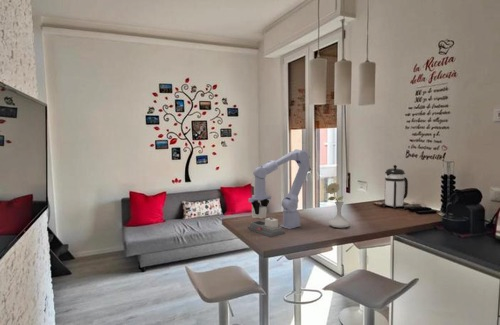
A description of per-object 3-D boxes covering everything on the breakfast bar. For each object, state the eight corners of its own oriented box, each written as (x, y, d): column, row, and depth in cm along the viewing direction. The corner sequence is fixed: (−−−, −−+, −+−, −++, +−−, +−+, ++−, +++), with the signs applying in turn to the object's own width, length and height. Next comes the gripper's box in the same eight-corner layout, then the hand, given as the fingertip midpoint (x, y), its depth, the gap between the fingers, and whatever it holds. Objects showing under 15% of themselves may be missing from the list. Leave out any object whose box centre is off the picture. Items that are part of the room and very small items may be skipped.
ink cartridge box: (267, 216, 206) (266, 194, 204) (264, 218, 201) (264, 195, 200) (254, 215, 209) (254, 193, 208) (251, 217, 204) (251, 194, 203)
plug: (259, 215, 182) (259, 203, 182) (266, 217, 177) (266, 204, 177) (253, 216, 180) (253, 204, 179) (260, 218, 175) (260, 206, 174)
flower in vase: (348, 224, 187) (348, 181, 185) (350, 229, 176) (351, 184, 174) (324, 223, 190) (325, 181, 188) (326, 228, 178) (326, 184, 176)
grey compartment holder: (261, 225, 186) (261, 211, 185) (284, 233, 171) (284, 217, 170) (247, 228, 180) (247, 213, 179) (270, 237, 165) (270, 220, 164)
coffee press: (407, 210, 220) (408, 166, 217) (382, 208, 226) (383, 165, 224) (407, 205, 235) (408, 164, 233) (383, 203, 242) (384, 163, 239)
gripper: (265, 186, 185) (265, 210, 186) (245, 189, 176) (245, 214, 177) (273, 188, 179) (273, 212, 180) (253, 191, 170) (253, 216, 171)
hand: (260, 213), depth 178 cm, fingers closed on plug, 4 cm apart
